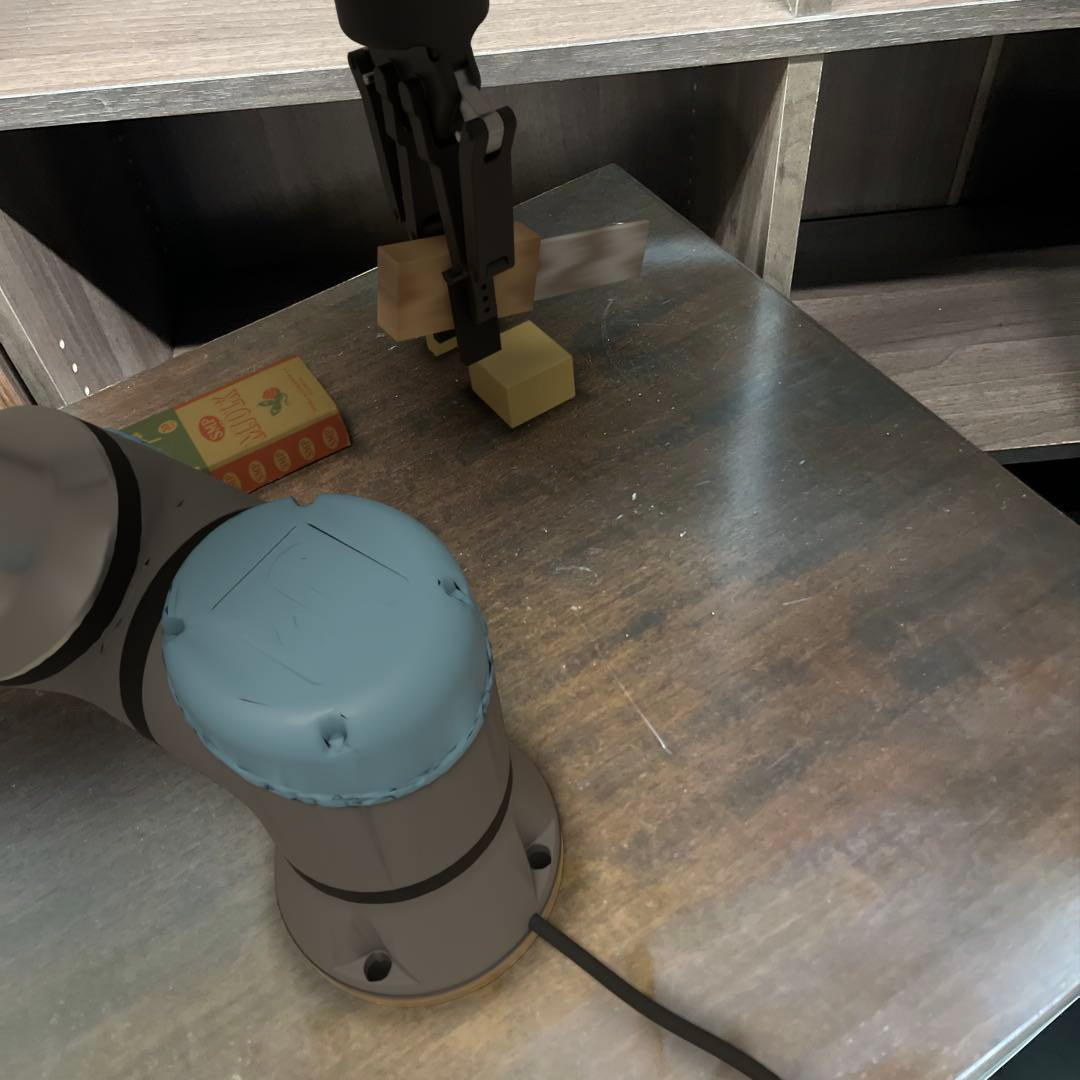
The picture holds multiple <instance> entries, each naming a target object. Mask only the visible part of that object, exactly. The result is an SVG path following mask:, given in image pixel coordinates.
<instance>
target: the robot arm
mask: <svg viewBox="0 0 1080 1080" xmlns="http://www.w3.org/2000/svg"><path fill="white" fill-rule="evenodd" d="M333 2H334V7H335V12H336V16H337V21H338V25H339V27H340V30H341V32H343V34H344V35H345V36H346V37H347V38H348V39H349V40H350V41H352V42H354V43H356V44H358V45H360V46H363V47H360V48H359V47H358V48H357V49H354V50H351V51H348V52H347V54H346V58H347V64H348V67H349V69H350V72H351V74H352V76H353V79H354V82H355V84H356V87H357V90H358V92H359V95H360V98H361V101H362V105H363V109H364V112H365V116H366V121H367V125H368V128H369V129H368V130H369V133H370V136H371V140H372V144H373V149H374V151H375V156H376V160H377V164H378V168H379V171H380V175H381V176H380V177H381V180H382V184H383V187H384V191H385V195H386V199H387V203H388V207H389V211H390V215H391V218H392V220H393V221H394V222H395V223H396V224H397V225H402V224H404V223H405V224H406V232H407V236H408V238H409V241H412V240H418V239H423V238H429V237H434V236H440V235H445V237H446V241H447V246H448V250H449V255H450V259H451V263H452V268H450V269H448V270H445V271H443V272H441V273H442V276H443V278H444V280H445V281H446V283H447V286H448V292H449V298H450V304H451V310H452V316H453V322H454V327H455V329H451V330H447V331H442V332H438V333H434V334H433V337H434V339H435V340H436V341H437V342H438V343H439V344H441V343H443V342H445V341H447V340H449V339H451V338H453V337H455V336H456V339H457V345H458V347H457V350H458V357H459V362H460V363H461V364H462V365H463V366H465V368H468V366H470V365H472V364H474V363H476V362H478V361H480V360H482V359H484V358H486V357H488V356H490V355H492V354H494V353H496V352H498V351H500V350H502V346H501V338H500V334H501V333H500V332H501V331H500V324H499V318H498V315H497V303H496V297H495V288H494V280H493V276H496V275H498V274H500V273H502V272H504V271H506V270H508V269H511V268H513V267H514V266H515V250H514V222H515V221H514V199H513V197H514V196H513V173H512V172H513V171H512V170H513V169H512V149H513V143H514V140H515V135H516V131H517V127H518V122H517V117H516V114H515V112H514V110H513V108H511V106H509V105H504V106H502V107H499V108H496V109H494V108H493V106H491V104H490V103H489V102H488V100H487V99H486V97H484V95H483V93H482V92H481V89H482V78H481V73H480V69H479V66H478V64H477V61H476V57H475V53H474V50H473V46H472V39H473V38H474V35H475V33H476V32H477V29H479V27H480V26H481V24H483V23H484V21H485V20H486V19H487V17H488V14H489V11H490V6H491V5H490V0H333ZM119 430H120V429H116V428H111V427H101V426H98V425H96V424H94V423H91V422H89V421H86V420H84V419H81V418H79V417H77V416H75V415H73V414H71V413H68V412H65V411H63V410H60V409H57V408H52V407H48V406H45V405H39V404H38V405H36V404H21V405H14V406H9V407H5V408H2V409H0V687H9V688H10V687H11V688H16V689H17V688H18V689H28V690H37V691H43V692H44V691H45V692H53V693H60V694H65V695H69V696H72V697H75V698H78V699H81V700H84V701H86V702H88V703H90V704H93V705H95V706H97V707H98V708H99V709H100V710H103V711H104V712H106V713H107V714H108V715H110V716H112V717H113V718H115V719H116V720H118V721H119V722H121V723H122V724H124V725H126V726H127V727H129V728H130V729H132V730H134V731H135V732H137V733H138V734H140V735H141V736H142V737H144V738H145V739H146V740H148V741H150V742H151V743H153V744H155V745H156V746H158V747H160V748H161V749H163V750H164V751H166V752H167V753H169V754H170V755H171V756H173V757H175V758H176V759H177V760H179V761H181V762H183V764H185V765H187V766H188V767H190V768H191V769H193V770H195V771H196V772H197V773H199V774H201V775H203V776H204V777H205V778H207V779H208V780H210V781H212V782H213V783H215V784H216V785H218V786H220V787H221V788H223V789H224V790H225V791H227V792H228V793H229V794H231V795H232V796H234V797H235V798H236V799H237V800H239V801H240V802H241V803H242V804H243V805H245V807H247V808H248V809H249V810H250V811H251V812H252V813H253V814H254V815H255V816H256V818H257V819H258V820H259V822H260V823H261V825H262V826H263V828H264V829H265V831H266V832H267V834H268V835H269V837H270V838H271V840H272V841H273V842H274V844H275V846H274V847H275V848H274V862H273V863H274V866H273V867H274V868H273V870H274V871H273V873H274V875H273V877H274V889H275V894H276V895H275V896H276V902H277V906H278V909H279V912H280V916H281V919H282V921H283V923H284V926H285V928H286V930H287V932H288V935H290V937H291V939H292V942H293V943H294V944H295V945H296V947H297V948H298V949H299V951H300V953H302V955H303V956H304V957H305V959H306V960H307V961H308V963H309V964H310V965H311V966H312V967H313V968H314V969H315V970H316V971H317V972H318V973H319V974H320V976H322V977H323V978H324V979H325V980H327V981H328V982H329V983H330V984H332V985H334V986H335V987H337V989H339V990H341V991H343V992H344V993H346V994H349V995H350V996H353V997H355V998H357V999H360V1000H363V1001H365V1002H369V1003H373V1004H377V1005H381V1006H388V1007H395V1008H397V1007H398V1008H415V1007H428V1006H434V1005H437V1004H439V1005H440V1004H444V1003H446V1002H449V1001H453V1000H456V999H460V998H462V997H464V996H466V995H469V994H472V993H474V992H475V991H477V990H479V989H481V988H483V987H485V986H486V985H488V984H490V983H491V982H493V981H494V980H496V979H497V978H499V977H500V976H501V975H502V974H503V973H505V972H506V971H508V970H509V969H510V968H511V967H512V966H514V965H515V963H516V962H517V961H519V960H520V959H521V957H522V956H524V954H525V953H526V952H527V950H528V949H529V948H530V947H531V946H532V945H533V944H534V942H535V940H536V939H537V937H538V936H539V937H540V938H542V939H543V940H544V941H545V942H546V943H548V944H549V945H551V946H552V947H553V948H554V949H556V950H557V951H559V952H560V953H561V954H562V955H564V956H565V957H567V958H568V959H569V960H570V961H571V962H573V963H574V964H576V966H578V967H579V968H581V969H582V970H584V971H585V972H586V973H587V974H588V975H590V976H591V977H592V978H593V979H595V980H596V981H597V982H599V983H600V984H601V985H602V986H603V987H605V988H606V989H607V990H608V991H610V992H611V993H612V994H614V995H615V996H616V997H618V998H619V999H620V1000H621V1001H623V1003H626V1004H627V1005H628V1006H630V1007H631V1008H632V1009H633V1010H635V1011H636V1012H638V1013H639V1014H641V1015H643V1016H644V1017H646V1018H647V1019H649V1020H651V1021H652V1022H653V1023H654V1024H656V1025H658V1026H660V1027H661V1028H664V1029H665V1030H667V1031H669V1032H670V1033H672V1034H674V1035H675V1036H678V1037H679V1038H681V1039H682V1040H685V1041H686V1042H688V1043H690V1044H692V1045H693V1046H696V1047H697V1048H699V1049H701V1050H703V1051H704V1052H707V1053H708V1054H711V1055H712V1056H714V1057H716V1058H717V1059H719V1060H720V1061H723V1062H724V1063H726V1064H728V1065H729V1066H731V1067H732V1068H734V1069H736V1070H737V1071H739V1072H740V1073H742V1074H743V1075H745V1076H747V1077H748V1078H749V1079H751V1080H783V1079H782V1078H780V1077H779V1076H778V1075H777V1074H776V1073H774V1072H773V1071H772V1070H770V1069H768V1068H767V1067H766V1066H765V1065H763V1064H762V1063H760V1062H759V1061H757V1060H756V1059H754V1058H753V1057H751V1056H750V1055H749V1054H747V1053H745V1052H743V1051H742V1050H740V1049H739V1048H737V1047H735V1046H734V1045H732V1044H730V1043H728V1042H727V1041H725V1040H723V1039H721V1038H720V1037H718V1036H716V1035H714V1034H713V1033H711V1032H708V1031H707V1030H705V1029H703V1028H701V1027H699V1026H697V1025H696V1024H693V1022H690V1021H689V1020H686V1019H684V1018H682V1017H681V1016H679V1015H678V1014H675V1013H674V1012H672V1011H670V1010H668V1009H667V1008H665V1006H662V1005H660V1004H658V1003H657V1002H656V1001H654V1000H652V999H651V998H650V997H648V996H646V995H645V994H644V993H642V992H641V991H639V990H638V989H637V988H635V987H634V986H632V985H631V984H629V983H628V982H627V981H626V980H624V979H623V978H622V977H620V976H619V975H618V974H616V972H614V971H613V970H612V969H610V968H609V967H608V966H607V965H605V964H604V963H603V962H602V961H600V960H599V959H597V958H596V957H595V956H594V955H593V954H591V953H590V952H588V951H587V950H586V949H585V948H584V947H582V946H581V945H579V944H578V943H577V942H575V940H573V939H571V938H570V937H569V936H568V935H566V934H565V933H564V932H562V931H561V930H559V929H558V928H557V927H556V926H554V925H553V924H551V922H549V921H548V919H549V917H550V915H551V912H552V910H553V908H554V906H555V903H556V900H557V897H558V894H559V890H560V886H561V882H562V876H563V869H564V841H563V834H562V828H561V819H560V815H559V811H558V808H557V803H556V801H555V798H554V795H553V793H552V790H551V788H550V786H549V784H548V782H547V781H546V778H545V777H544V775H543V773H542V772H541V771H540V769H539V767H538V766H537V765H536V764H535V763H534V761H532V759H531V758H530V757H529V756H528V755H527V754H526V753H525V752H524V751H523V750H522V749H521V748H520V747H519V746H517V744H515V743H514V742H513V741H512V740H511V739H510V738H509V737H508V736H507V731H506V726H505V725H506V724H505V721H504V715H503V710H502V704H501V699H500V694H499V689H498V684H497V683H498V682H497V678H496V677H497V676H496V673H495V668H494V655H493V651H492V643H491V641H490V639H489V629H488V626H487V623H486V620H485V618H484V615H483V612H482V611H481V608H480V605H479V604H478V603H477V601H476V600H475V598H474V595H473V593H472V590H471V587H470V585H469V582H468V579H467V577H466V575H465V573H464V571H463V569H462V567H461V565H460V564H459V562H458V560H457V559H456V557H455V556H454V555H453V553H452V552H451V550H450V549H449V548H448V547H447V546H446V545H445V543H444V542H443V541H442V540H441V539H440V538H439V537H438V536H437V535H436V534H435V533H434V532H433V531H431V530H430V529H429V528H428V527H427V526H426V525H425V524H423V523H422V522H420V521H419V520H417V519H415V518H414V517H413V516H411V515H409V514H407V513H405V512H404V511H402V510H400V509H398V508H396V507H393V506H392V505H389V504H386V503H384V502H381V501H378V500H374V499H372V498H367V497H363V496H358V495H354V494H353V495H352V494H347V493H339V492H336V493H335V492H322V493H318V494H317V495H316V496H315V498H314V500H313V502H311V503H305V504H300V503H299V502H298V500H297V499H296V497H294V496H286V497H280V498H276V499H273V500H270V501H265V500H264V499H261V498H259V497H257V496H255V495H253V494H251V493H250V492H249V493H246V492H244V491H242V490H240V489H238V488H236V487H233V486H231V485H229V484H227V483H225V482H223V481H221V480H218V479H216V478H214V477H212V476H210V475H208V474H205V473H203V472H201V471H199V470H197V469H195V468H193V467H190V466H188V465H186V464H184V463H182V462H180V461H177V460H175V459H173V458H171V457H169V456H167V455H166V454H165V453H164V452H163V451H161V450H159V449H157V448H156V447H154V446H153V445H151V444H149V443H147V442H146V441H144V440H142V439H140V438H138V437H135V436H133V435H130V434H128V433H125V432H123V431H119Z"/></svg>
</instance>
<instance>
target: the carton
mask: <svg viewBox="0 0 1080 1080" xmlns="http://www.w3.org/2000/svg"><path fill="white" fill-rule="evenodd" d="M343 419H344V418H343V417H342V414H341V412H340V409H339V408H338V406H337V404H336V403H335V401H334V400H333V399H332V398H331V396H330V395H329V393H328V392H327V391H326V389H325V388H324V387H323V385H322V384H321V383H320V382H319V380H318V379H317V378H316V376H315V375H314V373H313V371H312V370H311V369H310V367H309V366H308V365H307V363H305V361H304V359H302V357H301V356H300V355H299V354H298V353H295V354H293V355H291V356H287V357H286V358H284V359H281V360H278V361H276V362H274V363H272V364H270V365H266V366H265V367H262V368H261V369H258V370H256V371H254V372H251V373H250V374H246V375H244V376H241V377H239V378H237V379H235V380H233V381H231V382H230V381H229V382H228V383H226V384H223V385H221V386H219V387H216V388H213V389H212V390H209V391H207V392H205V393H202V394H201V395H198V396H196V397H193V398H191V399H189V400H186V401H183V402H181V403H178V404H177V405H175V406H172V407H170V408H167V409H165V410H162V411H160V412H157V413H156V414H153V415H150V416H148V417H146V418H143V419H141V420H139V421H137V422H134V423H131V424H129V425H127V426H124V427H122V428H120V429H118V430H119V431H123V432H125V433H128V434H130V435H133V436H135V437H138V438H140V439H142V440H144V441H146V442H147V443H149V444H151V445H153V446H154V447H156V448H157V449H159V450H161V451H163V452H164V453H165V454H166V455H167V456H169V457H171V458H173V459H175V460H177V461H180V462H182V463H184V464H186V465H188V466H190V467H193V468H195V469H197V470H199V471H201V472H203V473H205V474H208V475H210V476H212V477H214V478H216V479H218V480H221V481H223V482H225V483H227V484H229V485H231V486H233V487H236V488H238V489H240V490H242V491H244V492H246V493H249V494H250V492H253V491H255V490H256V489H258V488H261V487H262V486H264V485H267V484H269V483H272V482H273V481H276V480H277V479H281V478H282V477H284V476H286V475H288V474H290V473H293V472H294V471H297V470H299V469H301V468H302V467H303V468H304V467H305V466H307V465H310V464H311V463H314V462H315V461H318V460H321V459H323V458H325V457H327V456H329V455H331V454H333V453H335V452H338V451H340V450H341V449H344V448H346V447H349V446H351V441H350V436H349V434H348V431H347V430H348V429H347V428H346V424H345V422H344V420H343Z"/></svg>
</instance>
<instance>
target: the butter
mask: <svg viewBox="0 0 1080 1080" xmlns="http://www.w3.org/2000/svg"><path fill="white" fill-rule="evenodd" d="M500 338H501V346H502V350H500V351H498V352H496V353H494V354H492V355H490V356H488V357H486V358H484V359H482V360H480V361H478V362H476V363H474V364H472V365H470V366H468V367H467V368H468V374H469V378H470V384H471V389H472V391H473V392H474V393H475V394H476V395H477V396H478V397H479V398H480V399H481V400H482V401H483V402H484V403H485V404H486V405H488V407H489V408H490V409H491V410H492V411H494V413H496V415H498V416H499V418H500V419H502V420H503V421H504V422H505V424H507V425H508V426H509V427H510V428H511V429H514V428H516V427H518V426H521V425H522V424H524V423H526V422H528V421H530V420H532V419H534V418H536V417H537V416H540V415H542V414H544V413H545V412H548V411H550V410H552V409H553V408H555V407H557V406H560V405H561V404H563V403H565V402H566V401H569V400H571V399H573V398H574V397H576V386H575V373H574V362H573V361H574V360H573V356H572V355H571V353H569V352H568V351H567V350H566V349H565V348H563V347H562V346H561V345H559V343H557V341H555V340H554V339H553V338H551V337H550V336H549V335H548V334H547V333H545V332H544V331H543V330H542V329H541V328H540V327H538V326H537V325H536V324H535V323H534V322H532V321H531V320H530V319H528V320H526V321H523V322H521V323H520V324H518V325H515V326H514V327H512V328H509V329H507V330H505V331H503V332H501V333H500Z"/></svg>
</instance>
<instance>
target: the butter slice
mask: <svg viewBox="0 0 1080 1080" xmlns="http://www.w3.org/2000/svg"><path fill="white" fill-rule="evenodd" d="M425 340H426V344H427V349H428V350H429V351H430V352H431V353H432V354H433V355H434V356H435V357H438V356H440V355H443V354H445V353H447V352H449V351H451V350H454V349H456V348H458V345H457V339H456V336H455V337H453V338H451V339H449V340H447V341H445V342H443V343H441V344H439V343H438V342H437V341H436V340H435V339H434V337H433V334H430V335H426V336H425Z"/></svg>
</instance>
